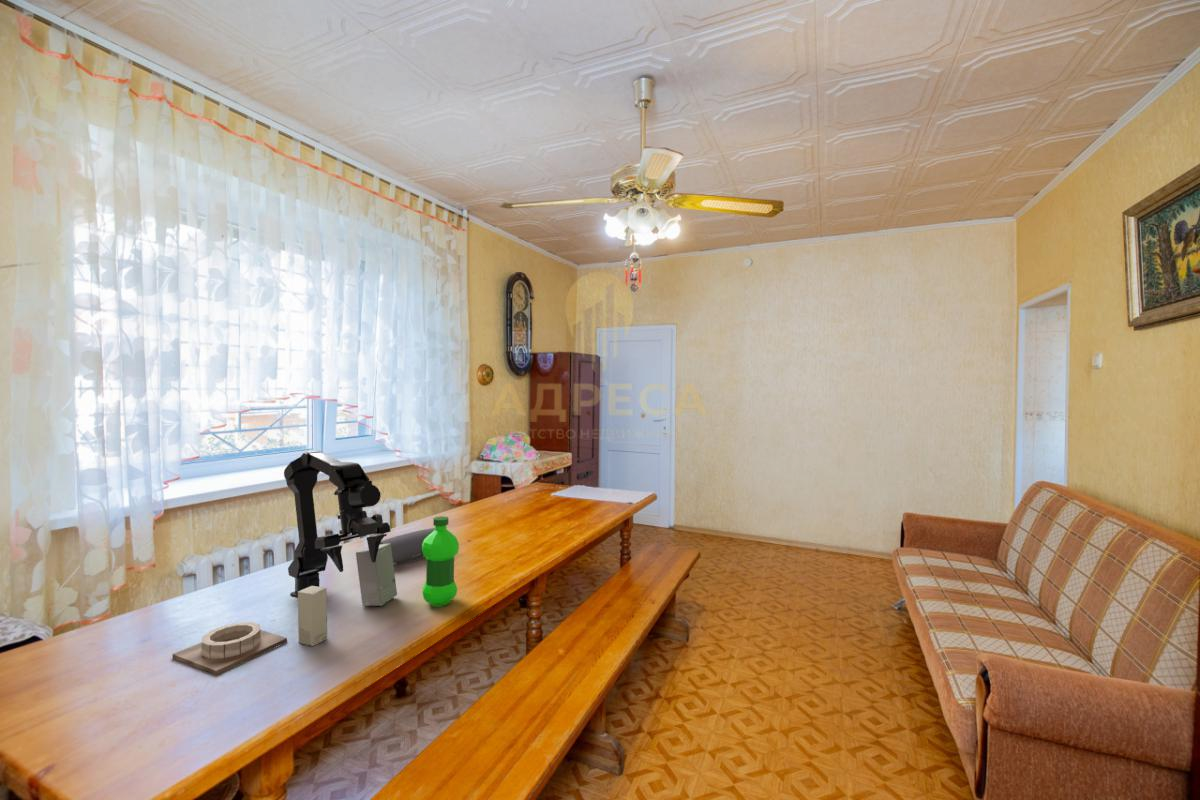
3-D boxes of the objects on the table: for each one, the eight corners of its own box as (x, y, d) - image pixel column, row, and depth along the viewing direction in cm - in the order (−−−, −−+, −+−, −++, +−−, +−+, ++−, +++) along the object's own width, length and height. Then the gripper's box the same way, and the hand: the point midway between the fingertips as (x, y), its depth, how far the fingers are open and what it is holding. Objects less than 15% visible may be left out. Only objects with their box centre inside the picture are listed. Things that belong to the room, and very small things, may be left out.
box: (328, 638, 127) (328, 587, 127) (312, 647, 123) (313, 594, 123) (311, 635, 129) (312, 584, 128) (296, 643, 125) (296, 591, 124)
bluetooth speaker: (428, 550, 197) (429, 524, 196) (444, 555, 191) (444, 528, 191) (373, 566, 178) (373, 537, 178) (388, 572, 173) (388, 542, 172)
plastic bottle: (438, 613, 142) (439, 524, 142) (413, 604, 148) (414, 519, 147) (465, 601, 151) (466, 517, 150) (440, 593, 156) (442, 512, 156)
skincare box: (381, 606, 144) (375, 550, 144) (359, 607, 146) (353, 551, 146) (399, 594, 152) (393, 541, 153) (377, 595, 154) (372, 543, 154)
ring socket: (172, 658, 117) (172, 641, 116) (244, 628, 131) (244, 613, 131) (216, 675, 110) (216, 657, 110) (286, 642, 125) (287, 625, 125)
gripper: (332, 513, 128) (340, 576, 126) (398, 500, 144) (405, 556, 142) (310, 517, 134) (317, 577, 133) (376, 504, 150) (382, 558, 148)
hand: (358, 566), depth 139 cm, fingers open, 9 cm apart
